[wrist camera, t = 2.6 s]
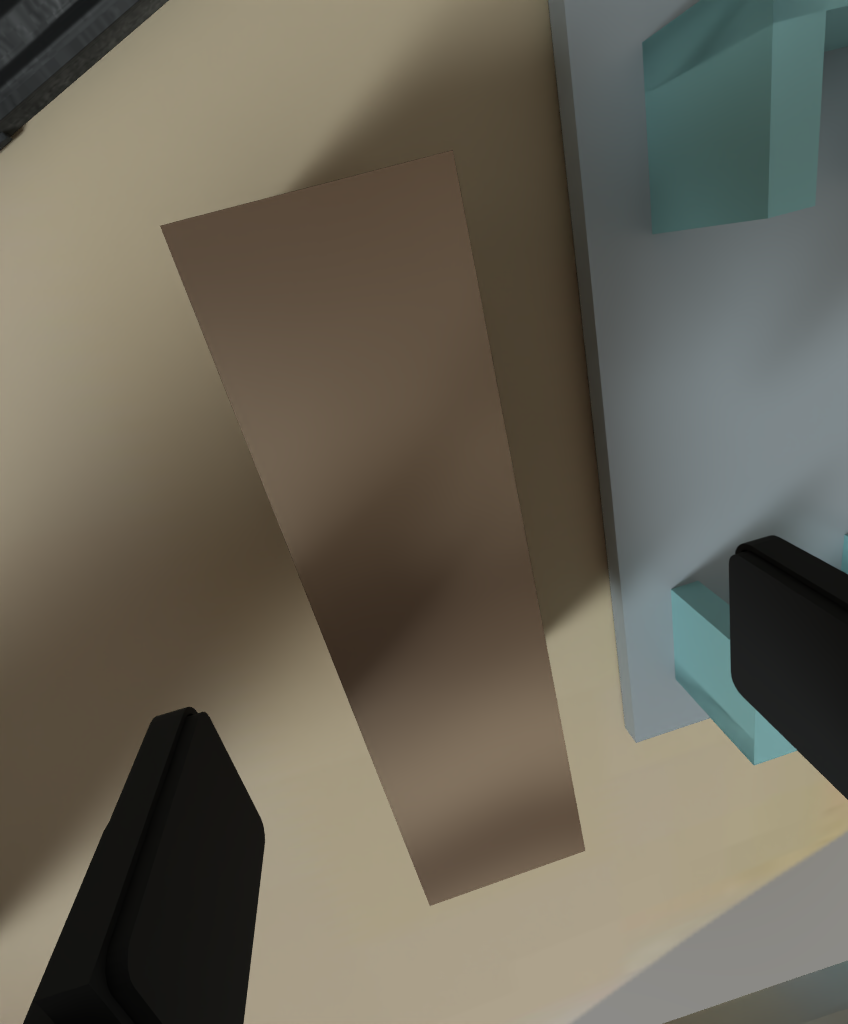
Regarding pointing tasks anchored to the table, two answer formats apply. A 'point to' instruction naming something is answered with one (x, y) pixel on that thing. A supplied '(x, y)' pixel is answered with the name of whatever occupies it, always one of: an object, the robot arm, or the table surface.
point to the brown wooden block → (396, 499)
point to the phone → (56, 48)
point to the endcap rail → (708, 316)
